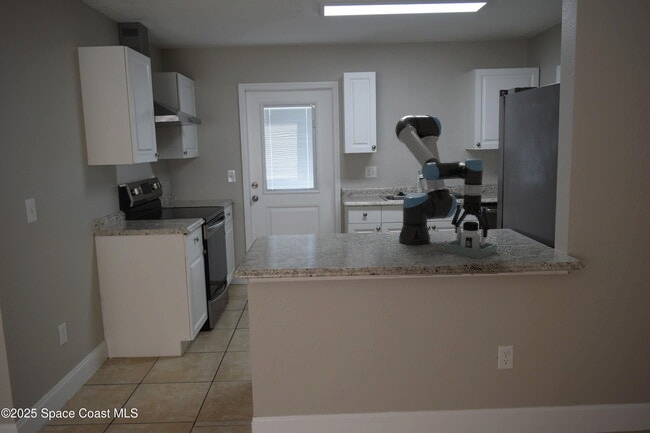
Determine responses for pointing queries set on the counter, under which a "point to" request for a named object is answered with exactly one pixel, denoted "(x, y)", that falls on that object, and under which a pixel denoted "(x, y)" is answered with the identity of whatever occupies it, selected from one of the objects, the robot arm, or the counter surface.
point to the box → (470, 249)
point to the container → (470, 235)
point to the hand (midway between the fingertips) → (470, 242)
